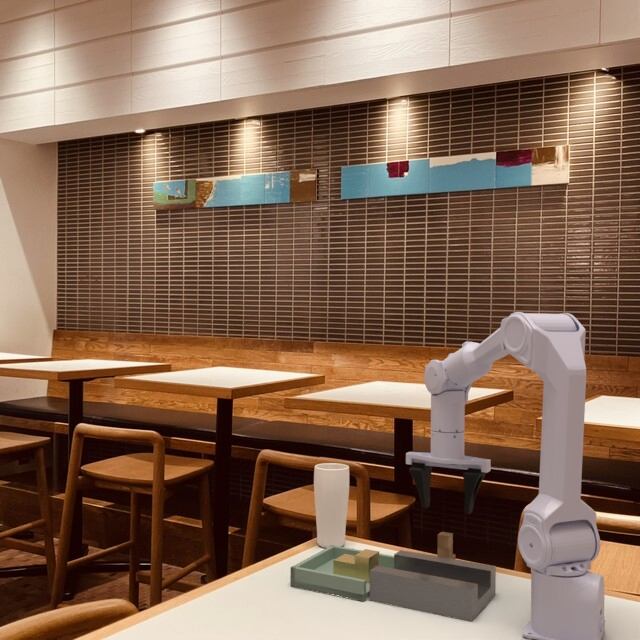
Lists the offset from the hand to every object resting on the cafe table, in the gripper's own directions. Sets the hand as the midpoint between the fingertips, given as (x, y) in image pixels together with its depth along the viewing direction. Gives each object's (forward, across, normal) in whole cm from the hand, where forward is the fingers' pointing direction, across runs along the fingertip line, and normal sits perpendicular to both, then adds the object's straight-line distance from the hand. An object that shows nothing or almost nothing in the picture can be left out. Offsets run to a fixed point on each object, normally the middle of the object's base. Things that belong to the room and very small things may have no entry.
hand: (446, 510), depth 127 cm
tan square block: (+7, +8, +13) cm, 17 cm away
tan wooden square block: (+9, +12, +13) cm, 20 cm away
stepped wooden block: (+10, 0, 0) cm, 11 cm away
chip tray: (+10, +12, +13) cm, 21 cm away
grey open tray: (+10, -2, +13) cm, 17 cm away
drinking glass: (+11, +24, -3) cm, 26 cm away
